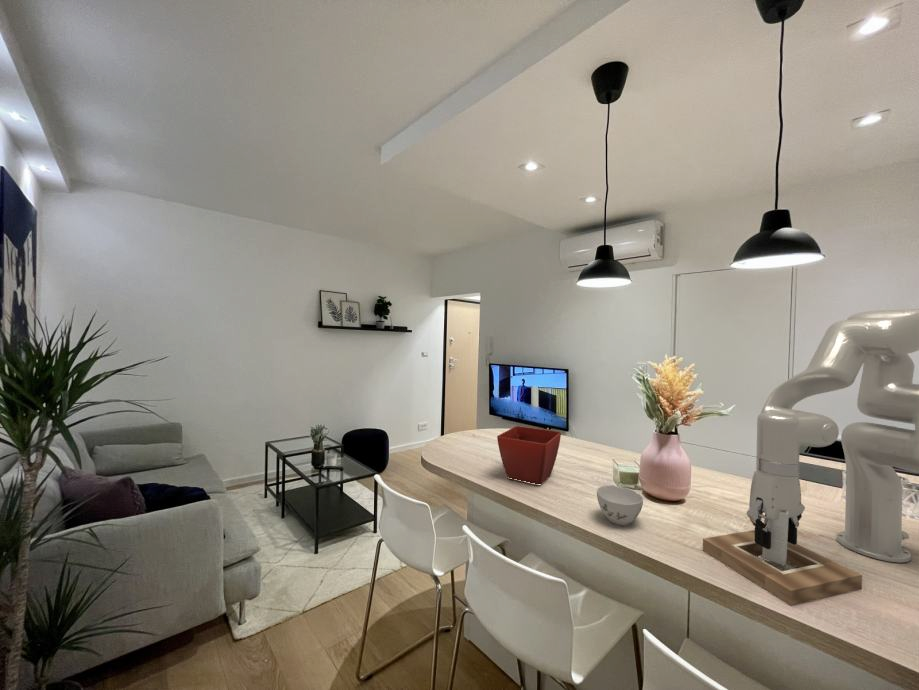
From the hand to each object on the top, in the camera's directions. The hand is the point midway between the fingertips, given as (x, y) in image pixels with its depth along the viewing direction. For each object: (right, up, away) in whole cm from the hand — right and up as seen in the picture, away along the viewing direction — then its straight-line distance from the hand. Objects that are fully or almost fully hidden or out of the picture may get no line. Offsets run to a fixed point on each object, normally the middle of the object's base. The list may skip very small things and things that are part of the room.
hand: (775, 543), depth 86 cm
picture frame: (0, -6, 0) cm, 6 cm away
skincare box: (0, -4, 0) cm, 4 cm away
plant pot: (-46, -5, +56) cm, 73 cm away
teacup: (-25, -6, +24) cm, 35 cm away
